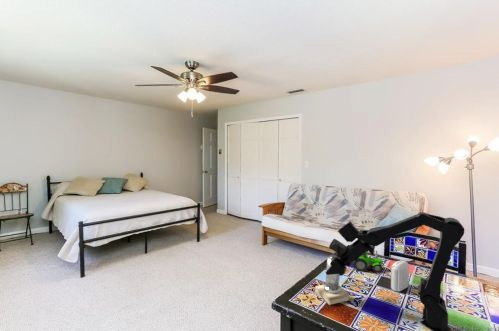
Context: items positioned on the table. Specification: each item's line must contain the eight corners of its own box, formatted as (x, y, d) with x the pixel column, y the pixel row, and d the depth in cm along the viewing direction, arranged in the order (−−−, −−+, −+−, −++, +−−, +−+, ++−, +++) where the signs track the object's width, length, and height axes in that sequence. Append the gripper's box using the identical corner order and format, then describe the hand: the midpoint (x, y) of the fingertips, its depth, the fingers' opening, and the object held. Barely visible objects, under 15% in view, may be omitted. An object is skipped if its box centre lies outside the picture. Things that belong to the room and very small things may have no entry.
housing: (343, 290, 108) (345, 257, 108) (334, 295, 104) (336, 261, 103) (329, 283, 114) (331, 252, 113) (320, 288, 110) (322, 256, 109)
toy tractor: (384, 275, 129) (384, 255, 128) (350, 270, 134) (350, 252, 134) (381, 266, 139) (381, 248, 139) (349, 262, 144) (349, 245, 144)
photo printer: (400, 282, 120) (400, 257, 120) (410, 286, 117) (410, 260, 116) (389, 289, 115) (389, 262, 114) (399, 293, 111) (399, 265, 111)
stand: (349, 300, 106) (349, 293, 106) (329, 304, 103) (329, 297, 103) (333, 288, 116) (333, 282, 115) (315, 292, 112) (315, 286, 112)
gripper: (346, 229, 114) (322, 248, 120) (335, 240, 98) (308, 262, 105) (365, 249, 110) (339, 268, 116) (356, 265, 94) (327, 286, 101)
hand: (328, 270), depth 110 cm, fingers open, 7 cm apart
